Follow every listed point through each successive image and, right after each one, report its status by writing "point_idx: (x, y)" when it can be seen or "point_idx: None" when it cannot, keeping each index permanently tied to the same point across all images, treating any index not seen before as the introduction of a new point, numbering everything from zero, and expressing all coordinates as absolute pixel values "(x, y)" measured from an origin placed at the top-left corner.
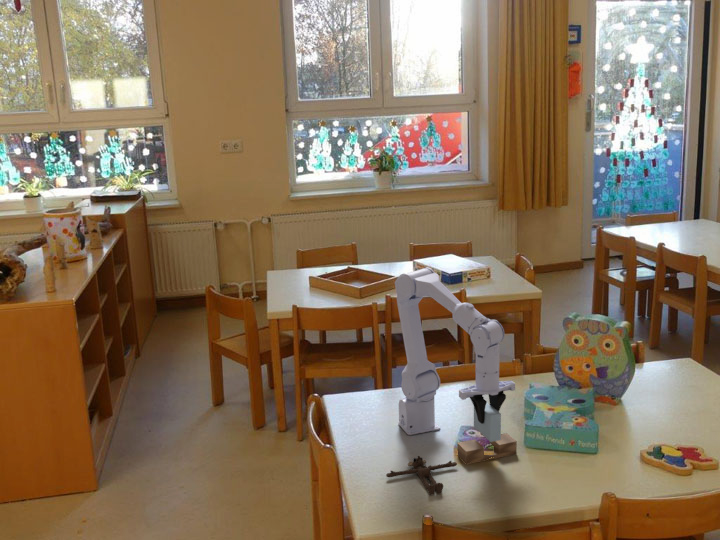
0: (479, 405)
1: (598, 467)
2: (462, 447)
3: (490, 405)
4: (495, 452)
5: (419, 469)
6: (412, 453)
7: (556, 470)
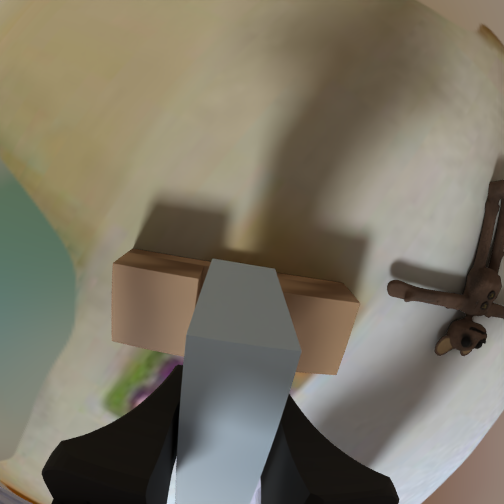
0: (364, 469)
1: (3, 60)
2: (348, 337)
3: (178, 465)
4: None
5: (497, 294)
6: (409, 402)
7: (93, 81)
